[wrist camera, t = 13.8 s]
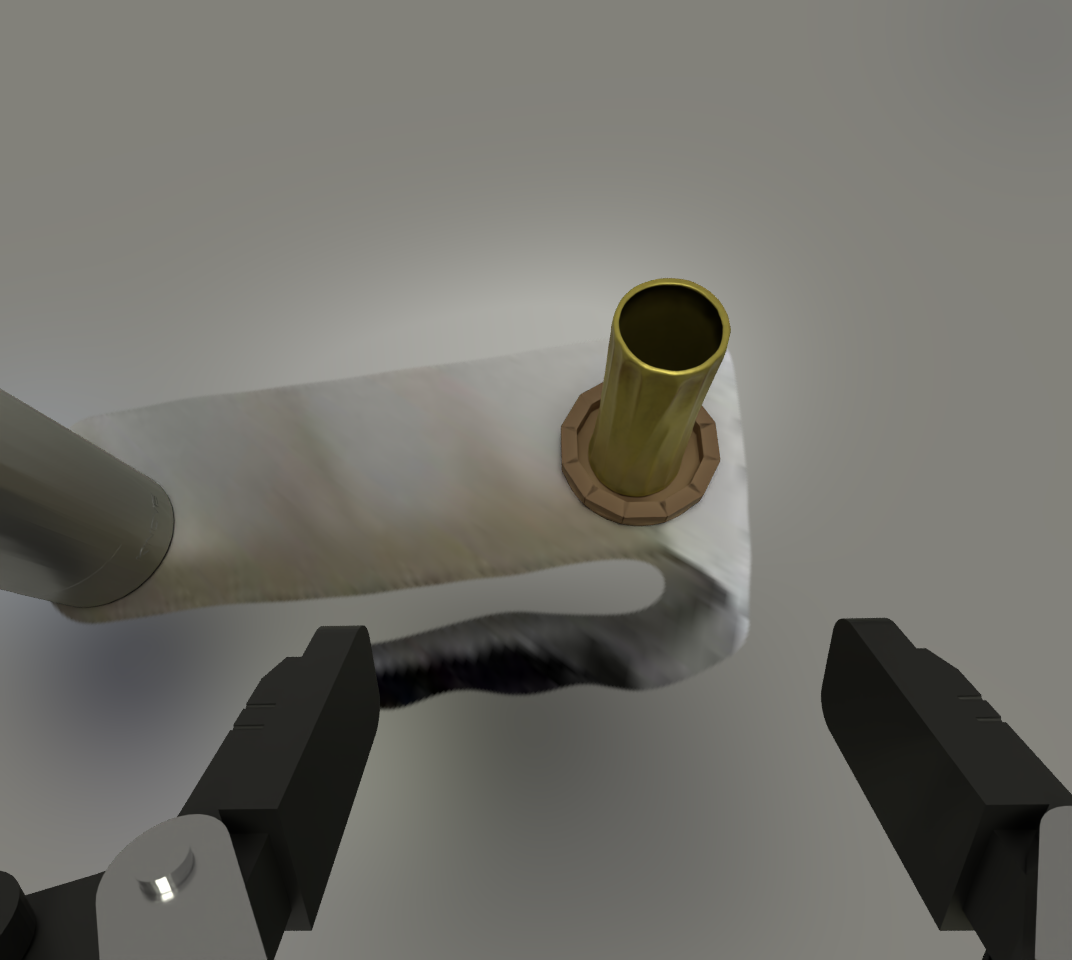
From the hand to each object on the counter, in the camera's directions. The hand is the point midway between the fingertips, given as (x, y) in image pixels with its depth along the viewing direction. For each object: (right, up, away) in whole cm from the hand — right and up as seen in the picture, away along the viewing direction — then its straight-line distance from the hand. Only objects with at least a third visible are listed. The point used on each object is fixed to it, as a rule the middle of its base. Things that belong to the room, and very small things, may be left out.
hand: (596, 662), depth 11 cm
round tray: (+6, +5, +30) cm, 31 cm away
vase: (+5, +5, +30) cm, 31 cm away
